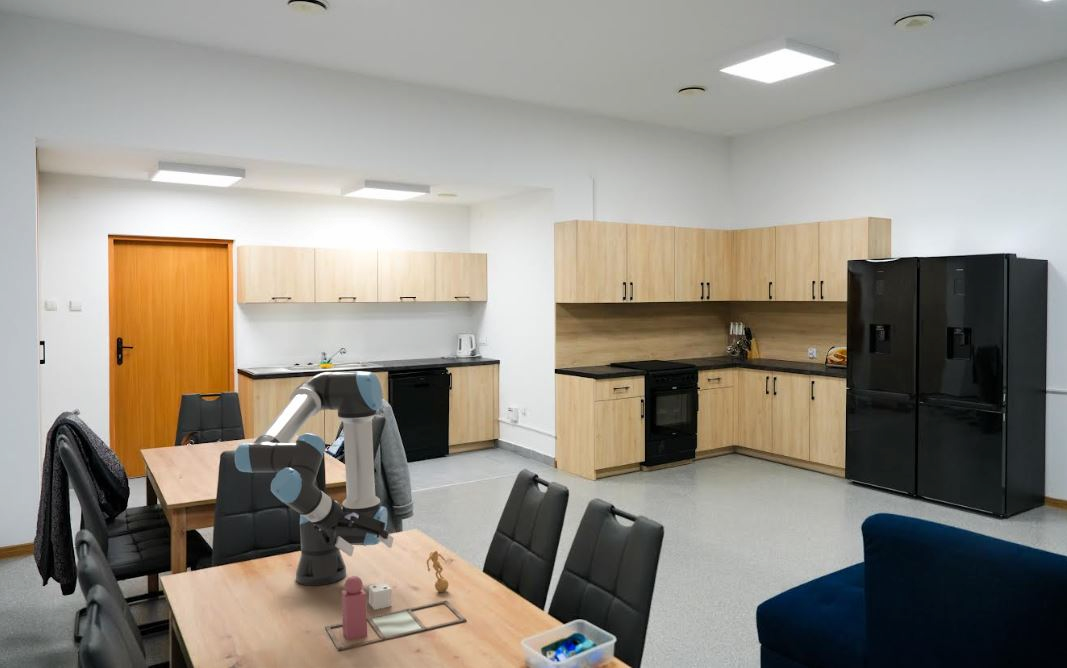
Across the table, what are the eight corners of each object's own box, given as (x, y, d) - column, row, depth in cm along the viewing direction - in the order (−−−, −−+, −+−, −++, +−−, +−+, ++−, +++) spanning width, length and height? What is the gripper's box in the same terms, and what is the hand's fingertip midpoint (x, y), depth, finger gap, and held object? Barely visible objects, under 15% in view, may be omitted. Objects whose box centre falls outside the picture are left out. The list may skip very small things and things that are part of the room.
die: (369, 603, 211) (368, 586, 211) (386, 600, 214) (385, 582, 214) (374, 609, 207) (373, 592, 207) (391, 606, 209) (391, 588, 209)
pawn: (343, 632, 193) (341, 575, 192) (362, 628, 195) (360, 571, 195) (347, 640, 189) (345, 581, 188) (367, 635, 191) (365, 577, 190)
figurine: (438, 597, 215) (437, 557, 214) (422, 594, 218) (421, 553, 217) (455, 588, 222) (454, 548, 221) (439, 584, 225) (438, 545, 224)
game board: (325, 628, 196) (325, 626, 196) (446, 601, 212) (446, 600, 212) (338, 651, 183) (338, 649, 183) (466, 621, 198) (466, 619, 198)
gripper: (280, 532, 193) (332, 567, 206) (356, 513, 183) (406, 552, 196) (288, 506, 198) (339, 542, 211) (363, 487, 188) (411, 526, 201)
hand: (371, 547), depth 204 cm, fingers open, 13 cm apart
